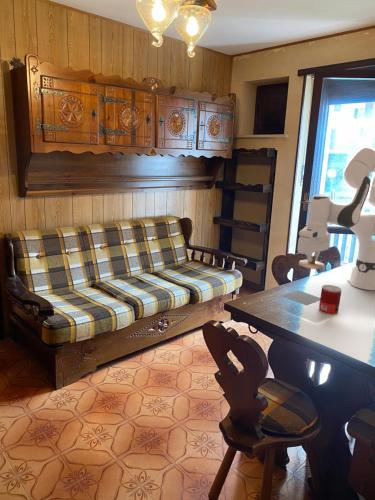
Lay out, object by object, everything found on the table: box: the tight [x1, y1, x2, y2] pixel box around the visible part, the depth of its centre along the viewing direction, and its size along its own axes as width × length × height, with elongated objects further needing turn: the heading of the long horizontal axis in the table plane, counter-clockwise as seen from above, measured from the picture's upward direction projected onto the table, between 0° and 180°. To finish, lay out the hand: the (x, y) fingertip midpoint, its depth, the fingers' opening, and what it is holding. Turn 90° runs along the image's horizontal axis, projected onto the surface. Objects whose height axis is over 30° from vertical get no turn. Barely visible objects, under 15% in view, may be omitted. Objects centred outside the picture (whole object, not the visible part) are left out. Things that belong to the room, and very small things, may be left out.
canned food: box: [318, 284, 342, 315], centre depth 168 cm, size 8×8×11 cm
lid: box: [298, 255, 325, 270], centre depth 176 cm, size 11×11×4 cm
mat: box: [280, 289, 320, 306], centre depth 183 cm, size 14×14×1 cm
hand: (311, 261), depth 176 cm, fingers closed on lid, 3 cm apart
